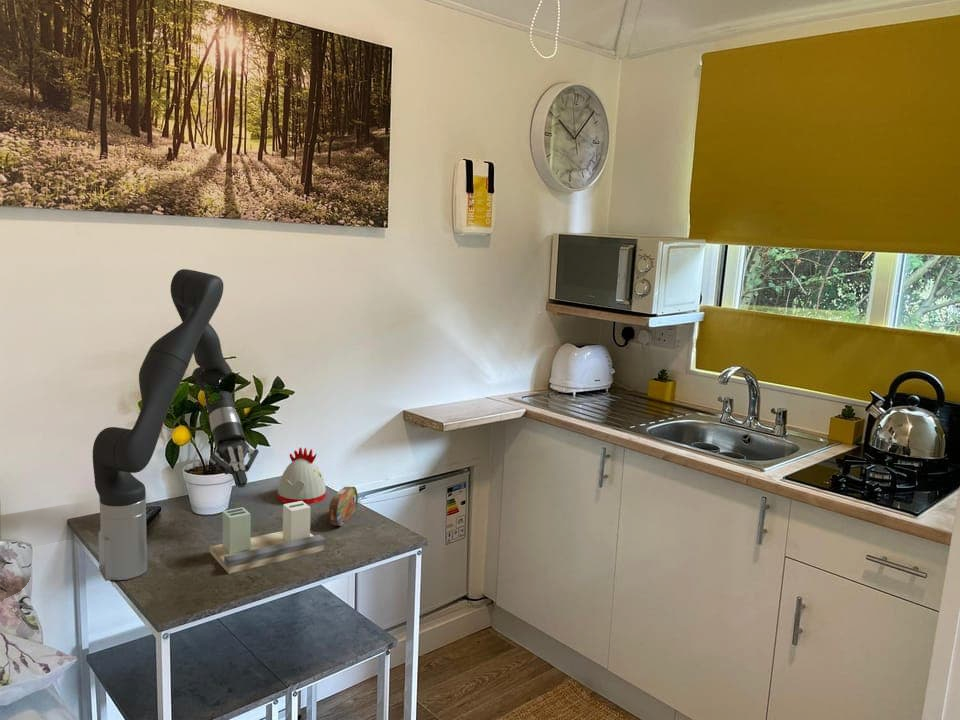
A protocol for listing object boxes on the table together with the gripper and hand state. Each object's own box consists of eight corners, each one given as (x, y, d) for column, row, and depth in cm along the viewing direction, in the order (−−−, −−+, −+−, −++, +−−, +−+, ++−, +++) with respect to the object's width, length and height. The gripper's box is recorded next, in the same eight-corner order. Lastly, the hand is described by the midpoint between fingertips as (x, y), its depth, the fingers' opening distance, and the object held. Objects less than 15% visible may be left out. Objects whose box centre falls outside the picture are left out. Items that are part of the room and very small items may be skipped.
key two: (229, 553, 172) (229, 517, 171) (222, 546, 176) (222, 510, 175) (250, 549, 175) (250, 513, 174) (242, 541, 179) (243, 506, 178)
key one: (291, 545, 179) (291, 510, 177) (282, 538, 182) (283, 503, 181) (309, 541, 182) (310, 506, 180) (301, 534, 186) (301, 500, 184)
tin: (337, 531, 193) (338, 501, 192) (326, 529, 194) (327, 499, 192) (358, 510, 208) (359, 482, 206) (347, 509, 208) (348, 481, 207)
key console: (228, 573, 166) (228, 561, 166) (209, 552, 176) (209, 540, 176) (324, 550, 181) (325, 538, 181) (302, 531, 191) (302, 521, 190)
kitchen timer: (315, 507, 208) (316, 457, 206) (269, 501, 210) (270, 452, 208) (332, 491, 222) (333, 443, 219) (289, 486, 224) (290, 439, 221)
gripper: (204, 423, 186) (219, 482, 179) (254, 418, 194) (271, 475, 187) (197, 438, 191) (212, 496, 184) (247, 432, 199) (263, 488, 192)
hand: (242, 485), depth 185 cm, fingers closed
